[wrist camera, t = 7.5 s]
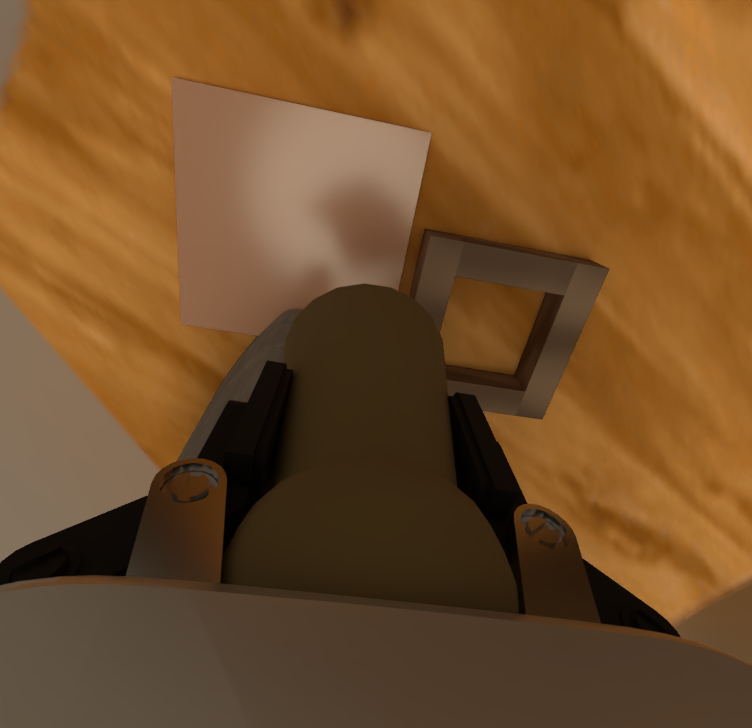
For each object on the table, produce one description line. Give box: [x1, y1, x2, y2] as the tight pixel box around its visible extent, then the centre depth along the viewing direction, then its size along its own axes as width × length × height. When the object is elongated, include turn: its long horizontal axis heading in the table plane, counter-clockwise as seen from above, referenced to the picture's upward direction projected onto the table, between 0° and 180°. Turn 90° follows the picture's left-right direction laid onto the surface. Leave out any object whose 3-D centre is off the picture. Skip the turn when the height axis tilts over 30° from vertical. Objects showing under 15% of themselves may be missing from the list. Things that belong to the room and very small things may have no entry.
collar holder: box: [410, 229, 609, 419], centre depth 30 cm, size 12×12×2 cm
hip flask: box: [177, 309, 302, 461], centre depth 23 cm, size 16×4×20 cm, turn 142°
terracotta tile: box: [171, 77, 432, 336], centre depth 27 cm, size 15×15×1 cm
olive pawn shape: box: [221, 283, 520, 614], centre depth 10 cm, size 6×6×11 cm
